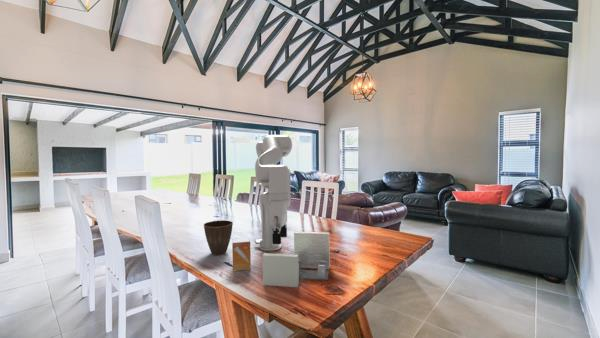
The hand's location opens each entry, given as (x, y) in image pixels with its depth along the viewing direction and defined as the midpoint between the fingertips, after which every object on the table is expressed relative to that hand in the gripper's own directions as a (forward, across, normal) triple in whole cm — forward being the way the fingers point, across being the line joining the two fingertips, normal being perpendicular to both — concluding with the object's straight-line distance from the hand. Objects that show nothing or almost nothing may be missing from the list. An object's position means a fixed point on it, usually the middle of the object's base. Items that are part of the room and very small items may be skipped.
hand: (280, 240), depth 111 cm
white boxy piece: (+18, -14, +10) cm, 24 cm away
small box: (+18, -15, -22) cm, 32 cm away
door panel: (+18, -1, 0) cm, 18 cm away
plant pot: (+17, -33, -42) cm, 56 cm away
